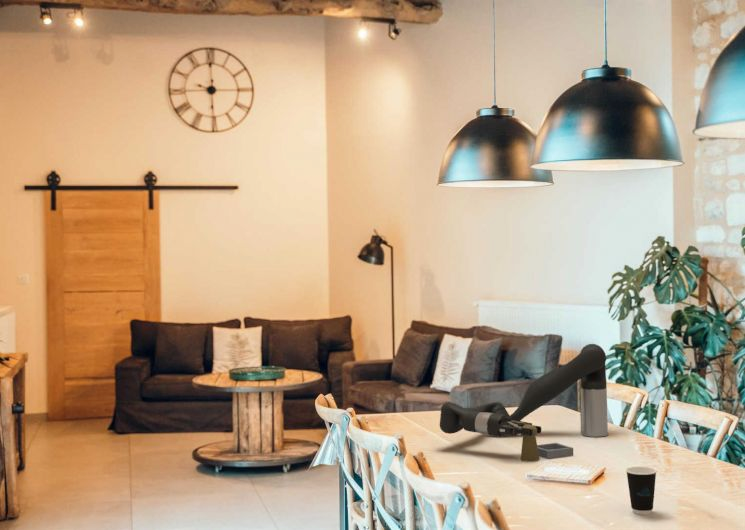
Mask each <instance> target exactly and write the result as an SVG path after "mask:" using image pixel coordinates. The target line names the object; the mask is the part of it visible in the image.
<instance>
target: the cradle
mask: <svg viewBox="0 0 745 530" xmlns="http://www.w3.org/2000/svg"><path fill="white" fill-rule="evenodd" d="M537 447H538V453H539V458H540V457H541V458H544V459H546V460H551V459H559V458H565V457H572V456H574V447H571V446H568V445H565V444H561V443H558V442H550V443H545V444H543V443H542V444H537Z"/></svg>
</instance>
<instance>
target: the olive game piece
mask: <svg viewBox="0 0 745 530" xmlns="http://www.w3.org/2000/svg"><path fill="white" fill-rule="evenodd" d="M535 426H536V425H534V426H533V424H532V425H525V426H523V427H522V428H529V429H533V436H528V435H522V441H521V454H520V460H522V461H527V462H536V461H539V459H540V456H539V453H538V447H537V445H538V443H537V437H536V436H537V434H538V433H537V428H536V427H535Z"/></svg>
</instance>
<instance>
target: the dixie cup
mask: <svg viewBox="0 0 745 530" xmlns="http://www.w3.org/2000/svg"><path fill="white" fill-rule="evenodd" d="M625 472H626V476H627V485H628V490H629V498H630V507H631V509H632V512H633V514H637V515H650V514H652V513H653V509H654V501H655V491H656V490H655V488H656V477H657V472H658V470H657V469H656V468H654V467H649V466H630V467H627V468H625Z"/></svg>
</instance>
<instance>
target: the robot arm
mask: <svg viewBox="0 0 745 530" xmlns="http://www.w3.org/2000/svg"><path fill="white" fill-rule="evenodd" d="M579 352H580V353H578V355H576V356H575V357H573V359H571V360H570V361H568V362H567V363H565V364H564V365H561V366H559V367H556V368H555V369H552V370H550V371H548V372H546V373H545V374H542V375H541V376H540V377H538V378H536V379H535V380H534V381H532V382H531V383H530V384H529V385H528V386H527V389H526V391H525V393H524V396H523V398H522V400H521V401H520V404H519V405H518V407H517V408H516V410H515V411H513V413H511V414H510V413H509V412H508V411H507V409H506V407H505V406H504V405H503V404H502V403H501V402H497V401H494V402H490V403H486V404H482V405H479V406H478V405H477V406H475V407H463V406H461V405H459V404H458V403H455V402H449V401H447V402H445V403H443V404H442V405H441V408H440V418H439V428H440V430H441V431H442V432H443V433H445V434H448V435H449V434H455V433H458V432H461V431H462V430H464V431H466V432H471V433H478V434H482V435H484V436H489V437H490V436H491V437H498V438H503V437H504V438H505V436H523V435H528V436H533V429H529V428H522V427H523V426H525V425H533V423H532V422H526V421H522V420H523V419H524V418H526V417H528V416H529V415H530V414H531V413H533V412H535V411H536V410H538V409H539V408H542V407H543V406H544V405H546V404H548V403H549V402H551V401H552V400H554V399H555V398H557V397H558V396H559V395H561V394H562V393H564V392H565V391H566V390H568V389H569V388H571V386H573V385H574V384H575V383H577V382H578V381H580V395H581V396H580V404H581V407H580V409H579V411H580V416H579V417H580V434H581V435H582V436H583V437H593V438H600V437H607V436H608V435H609V431H608V429H609V428H608V395H607V394H608V390H607V389H608V388H607V387H608V385H607V370H606V366H607V365H606V362H607V355H606V352H605V350H604V349H603V348H602V347H601V346H600V345H599V344H596V343H589V344H586V345H585V346H583V347H582V348H581V350H580V351H579ZM533 426H535V427H536V428H537V434H541V433H542V426H540V425H533Z"/></svg>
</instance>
